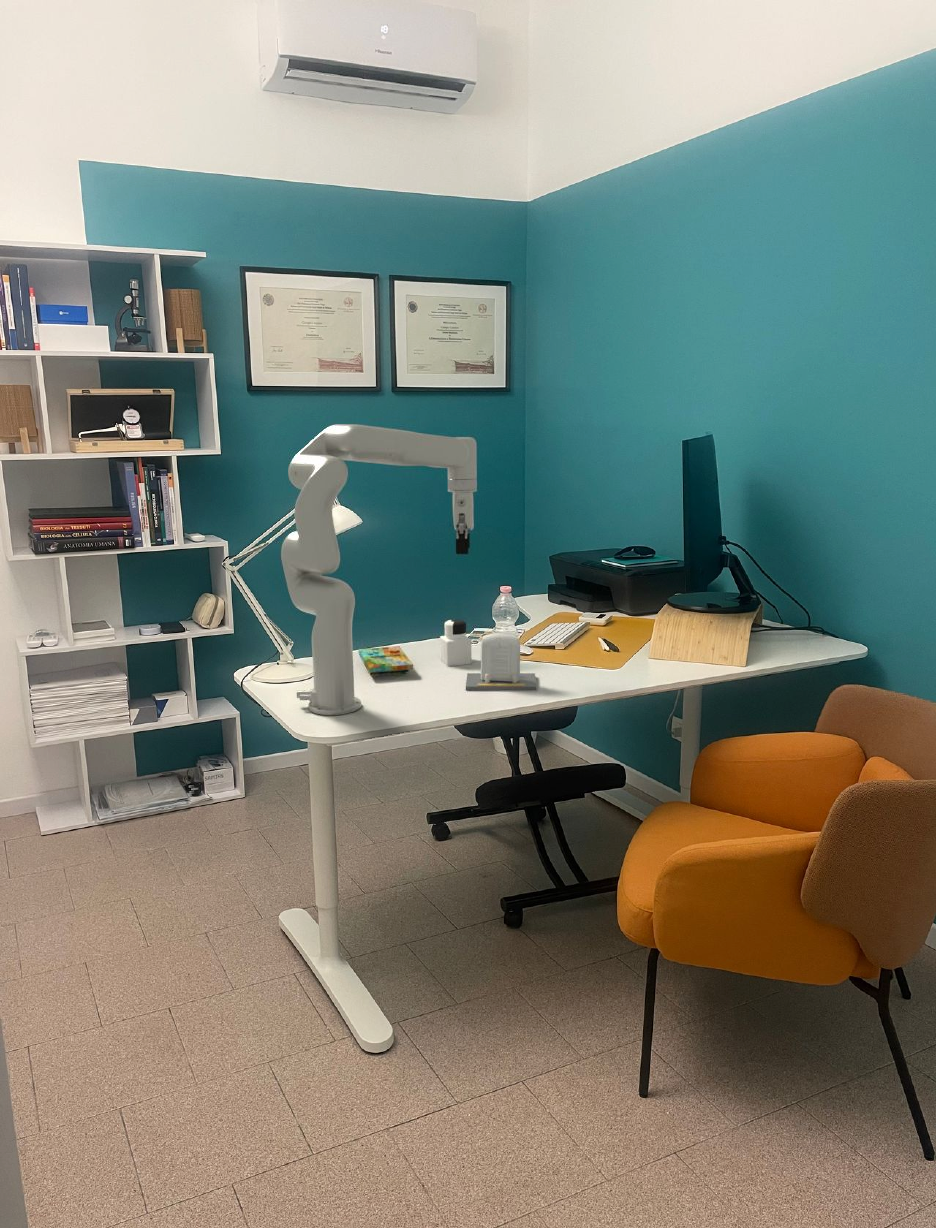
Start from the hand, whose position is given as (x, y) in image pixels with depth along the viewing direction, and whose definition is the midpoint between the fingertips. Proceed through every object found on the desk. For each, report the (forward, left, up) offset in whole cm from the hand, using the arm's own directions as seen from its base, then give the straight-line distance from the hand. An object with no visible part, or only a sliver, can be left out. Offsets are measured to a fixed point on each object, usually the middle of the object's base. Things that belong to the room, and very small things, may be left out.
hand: (462, 551), depth 247 cm
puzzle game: (-22, +3, -34) cm, 40 cm away
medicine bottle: (-3, +10, -34) cm, 35 cm away
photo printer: (+10, -10, -32) cm, 35 cm away
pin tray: (+10, -10, -33) cm, 36 cm away
